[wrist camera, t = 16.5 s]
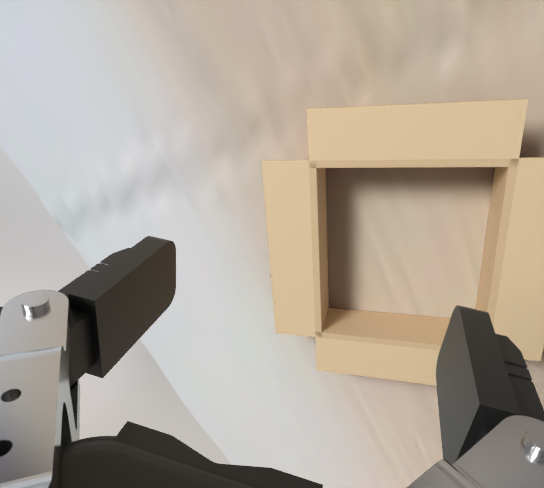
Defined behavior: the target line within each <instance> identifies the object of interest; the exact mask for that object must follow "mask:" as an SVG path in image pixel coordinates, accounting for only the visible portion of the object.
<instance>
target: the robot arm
mask: <svg viewBox="0 0 544 488" xmlns="http://www.w3.org/2000/svg"><path fill="white" fill-rule="evenodd" d="M175 289H176V248H175V244H174V242H173V241H169V240H165V239H160V238H156V237H151V236H148V237H146V238H144V239H143V240H142V241H140V242H139V243H137V244H136V245H135V246H133V247H132V248H127V249H124V250H121V251H118V252H116V253H113V254H111V255H110V256H108V257H107V258H105V259H104V260H102V261H101V262H100V264H97V265H95V266H94V267H92V268H91V270H90V271H89V270H88V271H87V272H85V273H84V274H82V275H81V276H80V277H78V278H76V279H75V280H74V281H72V282H71V283H69V284H68V285H66V286H65V287H64V288H62V289H61V290H59V291H53V290H37V291H31V292H27V293H24V294H21V295H19V296H17V297H14V298H13V299H11V300H10V301H8V302H7V303H6V304H5V305H4V307H0V488H322V487H323V485H322V484H319V483H316V482H312V481H309V480H306V479H303V478H300V477H297V476H294V475H291V474H288V473H285V472H282V471H279V470H276V469H273V468H264V467H252V466H240V465H226V464H217V463H214V462H212V461H210V460H209V459H207V458H206V457H204V456H202V455H201V454H199V453H198V452H196V451H195V450H193V449H192V448H190V447H189V446H187V445H186V444H184V443H182V442H181V441H179V440H178V439H176V438H175V437H173V436H171V435H168V434H165V433H162V432H159V431H156V430H153V429H150V428H147V427H144V426H141V425H138V424H134V423H132V422H128V421H127V423H126V424H125V425H124V427H123V428H122V429H121V431H120V432H119V433H118V435H117V436H99V437H91V438H85V439H81V440H79V428H80V384H79V378H80V377H81V376H82V375H83V374H84V373H88V374H91V375H94V376H98V377H101V378H103V377H104V376H105V375H106V374H107V373H108V372H109V370H111V369H112V367H113V366H114V365H115V364H116V363H117V362H118V361H119V360H120V358H122V357H123V356H124V354H125V353H126V352H127V351H128V350H129V349H130V348H131V347H132V346H133V345H134V344H135V343H136V341H137V340H138V339H139V338H140V337H141V336H142V335H143V334H144V333H145V332H146V331H147V330H148V329H149V327H150V326H151V325H152V324H153V323H154V322H155V321H156V320H157V319H158V318H159V317H160V316H161V314H162V313H163V312H164V311H165V310H166V309H167V308H168V307H169V306H170V304H171V302H172V300H173V298H174V294H175ZM526 368H527V365H526V363H525V360H524V358H523V355H522V352H521V351H520V350H519V349H518V347H517V346H516V345H515V344H514V343H513V342H512V341H511V340H510V339H509V338H508V337H507V336H504V335H499V334H495V331H494V328H493V325H492V322H491V318H490V315H489V313H488V312H485V311H480V310H476V309H471V308H467V307H462V306H456V307H455V309H454V311H453V313H452V316H451V319H450V322H449V325H448V328H447V331H446V334H445V337H444V340H443V342H442V345H441V348H440V351H439V355H438V359H437V365H436V384H437V395H438V406H439V417H440V428H441V439H442V449H443V459H442V460H440V461H438V462H437V463H436V464H434V465H433V466H432V467H431V468H430V469H428V470H427V471H426V472H425V473H424V474H422V475H421V476H420V477H419V478H418V479H416V480H415V481H414V482H413V483H412V484H411V485H409V486H408V487H407V488H544V410H543V407H542V405H541V402H540V399H539V397H538V394H537V392H536V389H535V386H534V384H533V382H531V380H532V379H531V376H530V373H529V371H528V369H526Z"/></svg>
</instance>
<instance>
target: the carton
mask: <svg viewBox="0 0 544 488" xmlns="http://www.w3.org/2000/svg"><path fill="white" fill-rule="evenodd" d="M527 105H528V99H516V100H493V101H471V102H448V103H425V104H403V105H380V106H358V107H335V108H313V109H307V128H308V154H309V160H262V171H263V183H264V195H265V207H266V220H267V232H268V244H269V256H270V268H271V281H272V293H273V305H274V317H275V330H276V333H282V334H291V335H300V336H310V337H316V363H317V370H319V371H327V372H335V373H342V374H350V375H358V376H366V377H373V378H381V379H389V380H397V381H404V382H412V383H420V384H428V385H435V386H437V384H436V365H437V359H438V355H439V351H440V348H441V345H442V342H443V340H444V337H445V334H446V331H447V328H448V325H449V322H450V319H451V318H440V317H429V316H417V315H406V314H394V313H383V312H371V311H360V310H348V309H337V308H329V291H328V247H327V203H326V168H393V167H495V171H494V178H493V186H492V193H491V201H490V208H489V215H488V223H487V230H486V238H485V245H484V252H483V260H482V267H481V275H480V282H479V289H478V297H477V304H476V310H480V311H485V312H488V313H489V315H490V318H491V322H492V325H493V328H494V331H495V334H499V335H504V336H507V337H508V338H509V339H510V340H511V341H512V342H513V343H514V344H515V345H516V346H517V347H518V349H519V350H520V351H521V352H522V355H523V358H524V360H534V361H541V357H542V353H543V348H544V157H528V158H519V156H520V150H521V143H522V137H523V131H524V124H525V118H526V111H527Z"/></svg>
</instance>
